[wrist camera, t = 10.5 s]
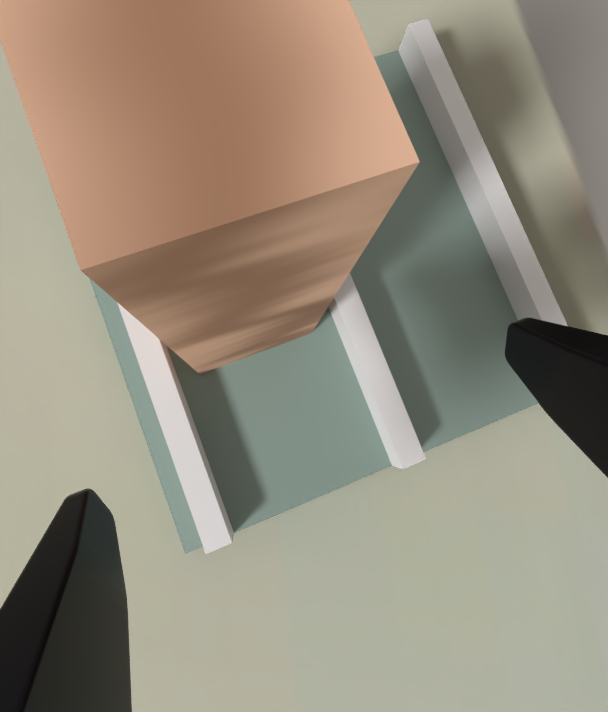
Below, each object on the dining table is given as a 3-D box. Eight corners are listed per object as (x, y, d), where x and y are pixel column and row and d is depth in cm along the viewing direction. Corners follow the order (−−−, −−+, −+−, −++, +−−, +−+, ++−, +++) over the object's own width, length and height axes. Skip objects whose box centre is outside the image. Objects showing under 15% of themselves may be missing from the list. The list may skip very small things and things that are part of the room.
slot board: (574, 383, 21) (615, 377, 19) (188, 546, 19) (179, 565, 16) (426, 56, 23) (447, 13, 21) (54, 160, 20) (26, 124, 18)
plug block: (269, 228, 20) (296, -118, 7) (311, 333, 19) (420, 161, 7) (159, 264, 19) (-32, -52, 6) (199, 374, 19) (80, 270, 6)
